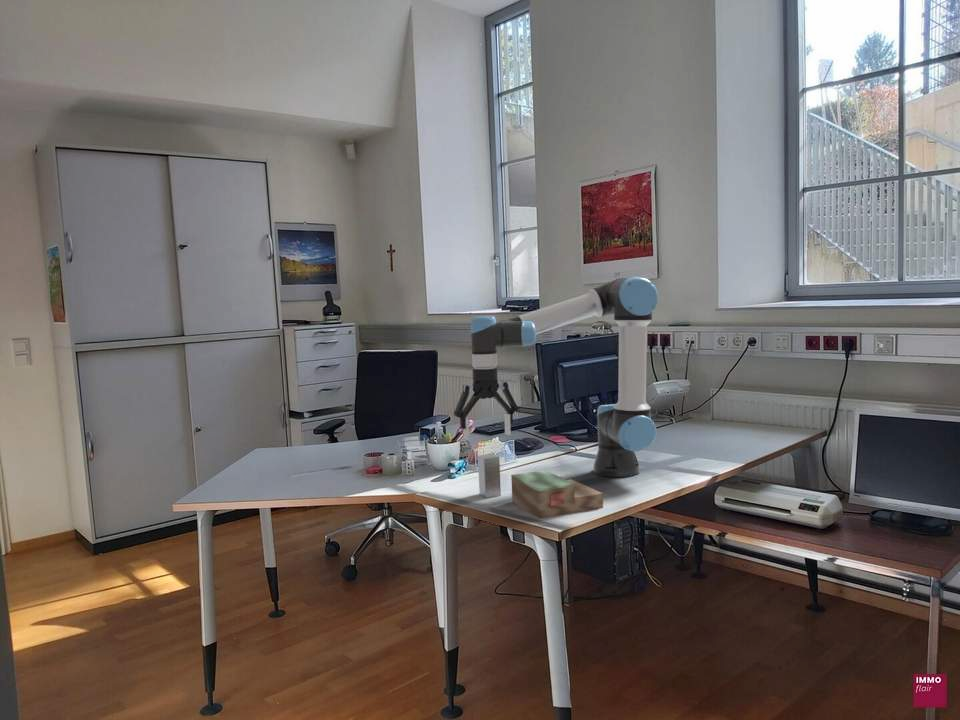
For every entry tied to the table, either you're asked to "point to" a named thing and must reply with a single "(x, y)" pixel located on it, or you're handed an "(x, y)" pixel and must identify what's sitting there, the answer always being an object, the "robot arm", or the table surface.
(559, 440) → the table surface
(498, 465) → the steel column
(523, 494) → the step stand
